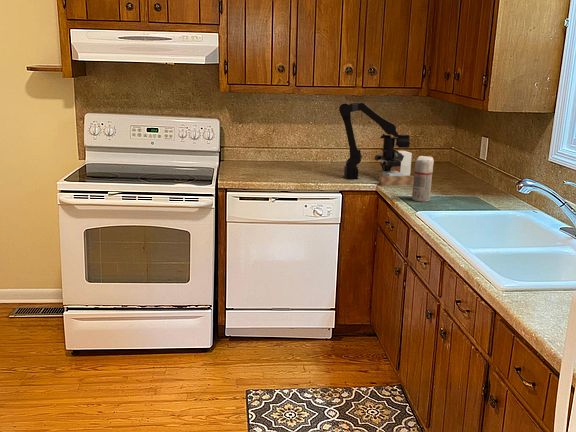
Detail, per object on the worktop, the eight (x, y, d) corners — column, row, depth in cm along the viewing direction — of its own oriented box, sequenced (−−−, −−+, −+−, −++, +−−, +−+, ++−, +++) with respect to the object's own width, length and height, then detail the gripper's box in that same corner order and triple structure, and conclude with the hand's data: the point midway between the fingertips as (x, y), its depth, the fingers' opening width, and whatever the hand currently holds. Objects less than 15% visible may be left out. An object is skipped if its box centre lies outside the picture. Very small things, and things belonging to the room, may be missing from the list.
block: (388, 184, 315) (389, 174, 314) (381, 180, 322) (382, 171, 321) (403, 183, 317) (403, 173, 316) (395, 180, 325) (396, 170, 323)
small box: (392, 174, 340) (394, 150, 337) (403, 174, 342) (405, 150, 339) (399, 177, 333) (401, 153, 329) (410, 176, 335) (412, 152, 331)
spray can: (433, 202, 279) (437, 158, 274) (416, 202, 277) (419, 158, 272) (425, 197, 287) (429, 154, 282) (408, 198, 285) (412, 155, 280)
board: (381, 185, 310) (381, 177, 309) (378, 184, 313) (379, 176, 312) (413, 184, 316) (414, 176, 315) (410, 183, 319) (411, 175, 318)
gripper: (411, 149, 314) (408, 180, 318) (394, 143, 331) (391, 172, 335) (391, 150, 311) (389, 181, 315) (375, 144, 328) (373, 173, 332)
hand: (386, 176), depth 324 cm, fingers closed
